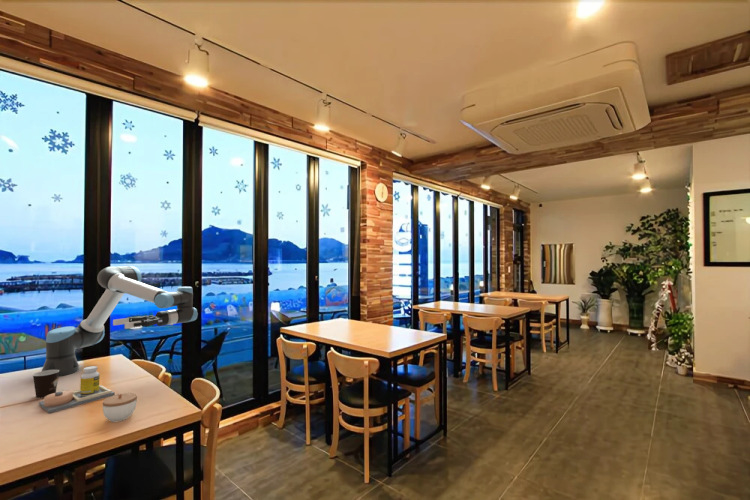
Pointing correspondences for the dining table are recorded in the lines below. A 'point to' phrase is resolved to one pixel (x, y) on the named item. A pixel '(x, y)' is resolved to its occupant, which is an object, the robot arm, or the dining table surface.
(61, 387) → the dining table surface
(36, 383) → the dark brown tapered cup
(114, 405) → the lidded jar
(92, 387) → the pill bottle
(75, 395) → the board
